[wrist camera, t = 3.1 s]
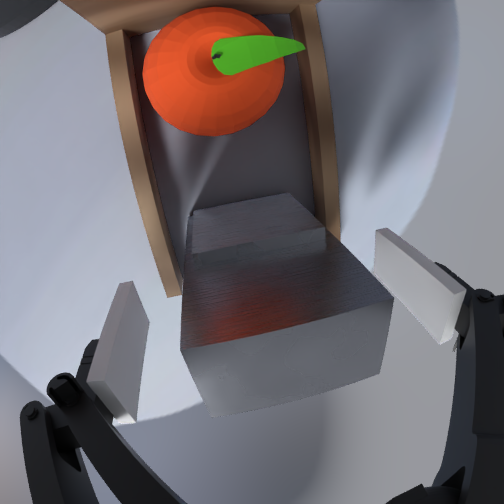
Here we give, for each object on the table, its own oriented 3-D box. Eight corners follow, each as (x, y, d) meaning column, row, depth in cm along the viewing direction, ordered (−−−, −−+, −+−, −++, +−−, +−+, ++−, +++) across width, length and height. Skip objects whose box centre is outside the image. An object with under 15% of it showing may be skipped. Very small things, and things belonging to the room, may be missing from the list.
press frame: (111, 16, 12) (55, -40, 4) (299, -11, 13) (363, -71, 5) (169, 281, 21) (159, 377, 13) (329, 248, 22) (392, 321, 14)
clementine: (266, 15, 14) (302, -30, 8) (296, 112, 17) (347, 113, 11) (141, 49, 14) (109, 15, 8) (172, 148, 17) (156, 167, 11)
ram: (186, 208, 19) (174, 335, 8) (292, 187, 19) (396, 282, 9) (201, 269, 21) (211, 417, 10) (297, 249, 22) (379, 373, 11)
